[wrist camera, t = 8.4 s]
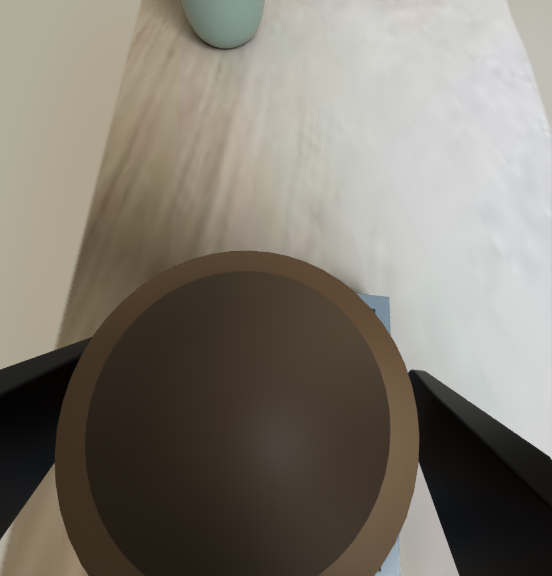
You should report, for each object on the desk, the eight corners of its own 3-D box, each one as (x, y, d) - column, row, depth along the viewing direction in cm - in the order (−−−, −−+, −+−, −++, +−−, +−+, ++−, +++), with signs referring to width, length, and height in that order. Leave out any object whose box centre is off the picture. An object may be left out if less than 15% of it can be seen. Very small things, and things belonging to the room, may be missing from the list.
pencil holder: (326, 451, 15) (490, 573, 4) (219, 482, 14) (43, 730, 3) (297, 345, 17) (350, 224, 6) (202, 369, 16) (57, 284, 5)
